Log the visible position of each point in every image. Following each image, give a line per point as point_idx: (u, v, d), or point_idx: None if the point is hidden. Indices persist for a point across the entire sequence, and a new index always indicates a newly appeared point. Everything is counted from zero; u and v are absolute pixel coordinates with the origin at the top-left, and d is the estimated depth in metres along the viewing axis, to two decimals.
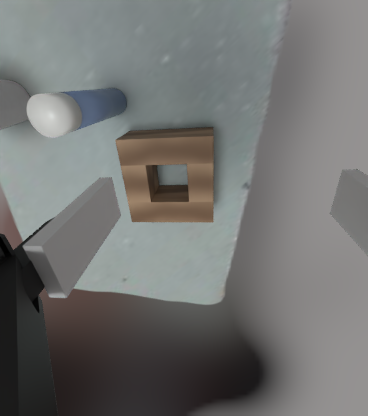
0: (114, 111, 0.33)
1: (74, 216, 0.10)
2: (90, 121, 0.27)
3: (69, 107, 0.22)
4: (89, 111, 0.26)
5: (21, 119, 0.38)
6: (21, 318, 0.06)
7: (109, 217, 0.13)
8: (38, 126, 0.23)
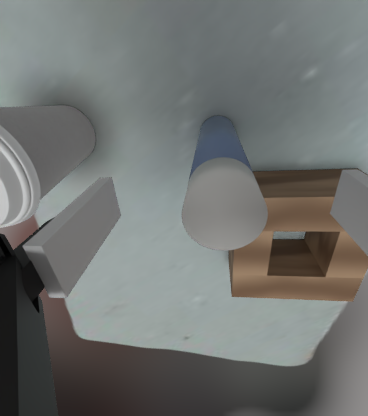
0: None
1: (74, 216, 0.10)
2: None
3: None
4: None
5: (82, 160, 0.27)
6: (21, 318, 0.06)
7: (109, 217, 0.13)
8: (197, 232, 0.11)
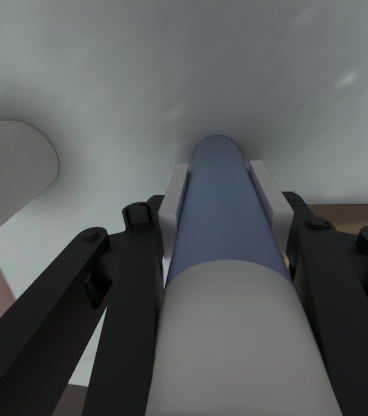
0: None
1: (181, 192, 0.11)
2: None
3: None
4: None
5: (39, 192, 0.20)
6: (156, 283, 0.07)
7: None
8: None
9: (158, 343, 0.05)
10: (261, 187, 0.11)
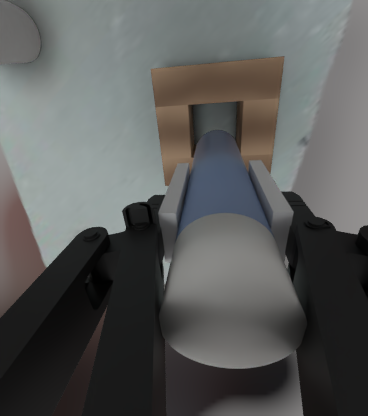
0: None
1: (181, 192, 0.11)
2: None
3: (292, 283, 0.07)
4: None
5: (26, 55, 0.30)
6: (156, 283, 0.07)
7: None
8: (186, 344, 0.07)
9: (174, 265, 0.07)
10: (261, 187, 0.11)
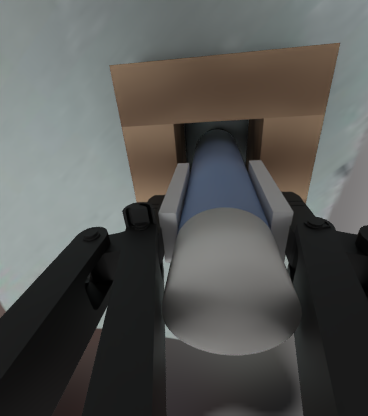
0: None
1: (181, 192, 0.11)
2: None
3: None
4: None
5: None
6: (156, 283, 0.07)
7: None
8: (187, 331, 0.07)
9: (176, 256, 0.07)
10: (261, 187, 0.11)
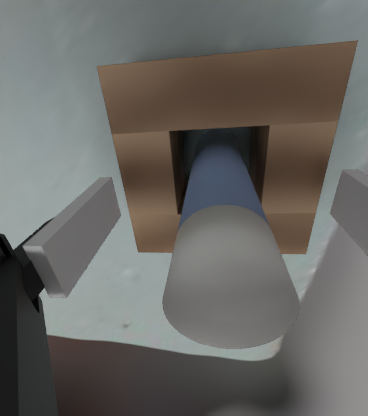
0: None
1: (74, 216, 0.10)
2: None
3: None
4: None
5: None
6: (21, 318, 0.06)
7: (109, 217, 0.13)
8: (188, 325, 0.07)
9: (177, 252, 0.07)
10: None
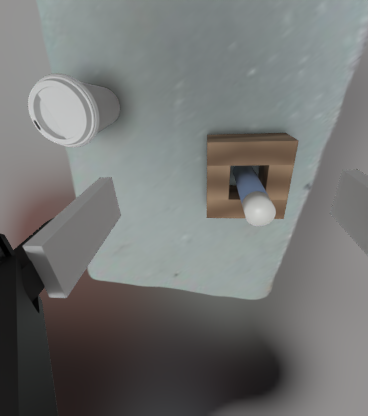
0: None
1: (74, 216, 0.10)
2: None
3: None
4: None
5: (112, 122, 0.42)
6: (21, 318, 0.06)
7: (109, 217, 0.13)
8: (250, 218, 0.31)
9: (247, 201, 0.31)
10: None
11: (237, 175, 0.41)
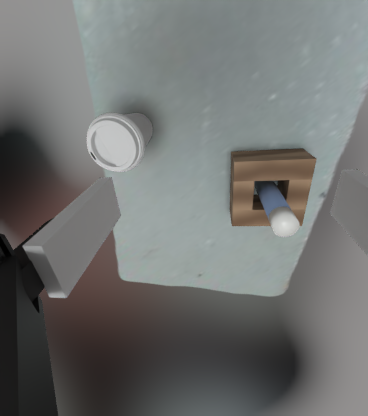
0: None
1: (74, 216, 0.10)
2: None
3: None
4: None
5: None
6: (21, 318, 0.06)
7: (109, 217, 0.13)
8: (276, 231, 0.36)
9: (274, 216, 0.36)
10: None
11: (260, 188, 0.46)
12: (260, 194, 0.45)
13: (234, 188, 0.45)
